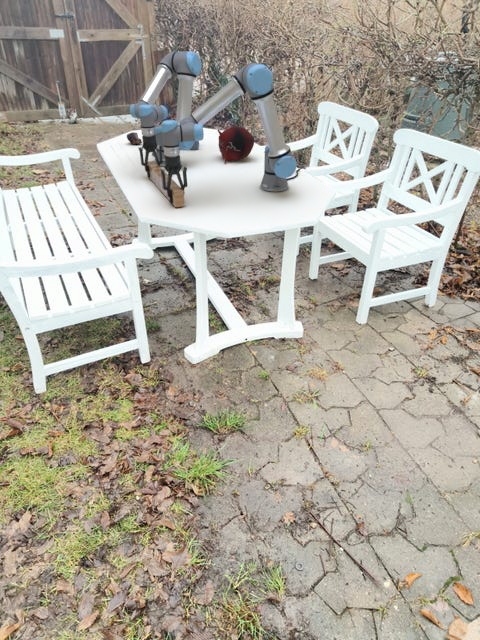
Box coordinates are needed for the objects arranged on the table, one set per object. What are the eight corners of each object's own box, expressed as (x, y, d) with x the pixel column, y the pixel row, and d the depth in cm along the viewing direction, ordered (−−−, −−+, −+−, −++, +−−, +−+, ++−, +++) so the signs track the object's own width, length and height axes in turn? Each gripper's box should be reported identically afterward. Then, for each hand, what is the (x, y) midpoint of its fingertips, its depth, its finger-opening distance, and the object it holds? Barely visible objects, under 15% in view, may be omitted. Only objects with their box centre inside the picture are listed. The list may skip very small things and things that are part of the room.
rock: (138, 143, 345) (126, 144, 341) (137, 131, 341) (124, 132, 337) (143, 144, 336) (130, 145, 331) (141, 131, 332) (128, 132, 328)
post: (147, 175, 271) (145, 161, 267) (155, 174, 273) (153, 160, 268) (175, 207, 226) (173, 191, 222) (184, 205, 228) (183, 190, 223)
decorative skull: (215, 132, 306) (215, 129, 282) (249, 124, 305) (251, 121, 281) (222, 164, 313) (222, 164, 289) (255, 157, 312) (258, 156, 288)
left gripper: (134, 138, 248) (140, 180, 261) (166, 134, 254) (169, 176, 267) (131, 135, 254) (137, 176, 267) (162, 132, 260) (166, 172, 273)
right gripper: (156, 159, 212) (161, 206, 226) (192, 154, 218) (195, 201, 231) (152, 155, 218) (157, 202, 231) (187, 151, 224) (190, 196, 237)
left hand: (153, 176), depth 267 cm, fingers closed on post, 5 cm apart
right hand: (176, 201), depth 231 cm, fingers closed on post, 5 cm apart
